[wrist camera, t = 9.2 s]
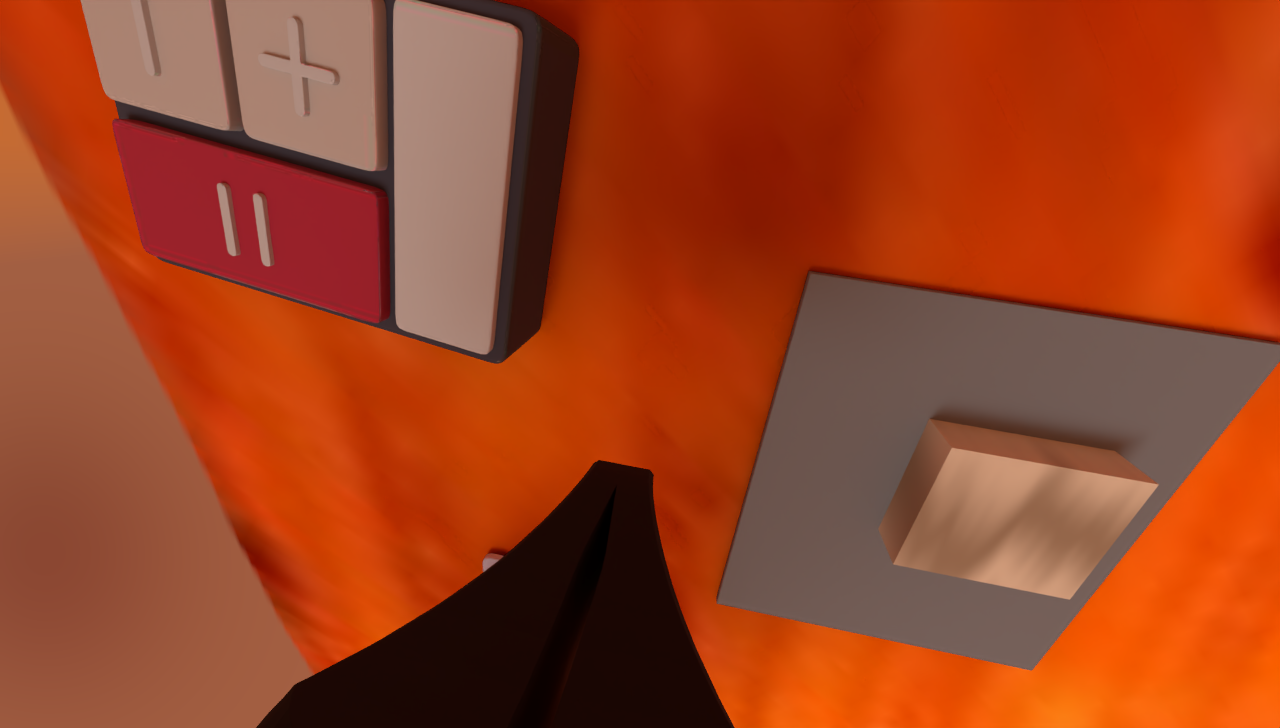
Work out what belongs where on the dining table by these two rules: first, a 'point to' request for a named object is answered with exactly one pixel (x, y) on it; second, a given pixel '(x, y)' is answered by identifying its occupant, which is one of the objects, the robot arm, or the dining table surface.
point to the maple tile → (1010, 508)
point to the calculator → (349, 153)
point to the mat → (969, 395)
